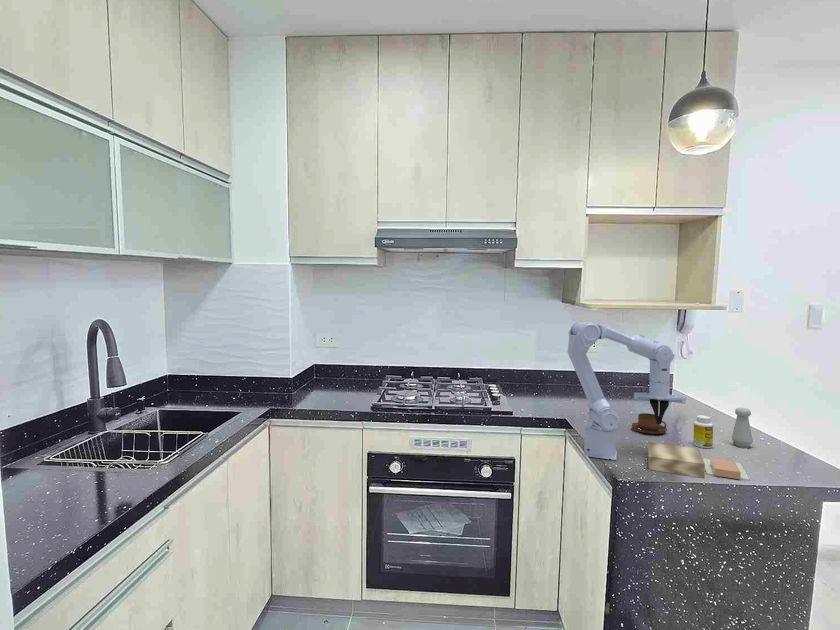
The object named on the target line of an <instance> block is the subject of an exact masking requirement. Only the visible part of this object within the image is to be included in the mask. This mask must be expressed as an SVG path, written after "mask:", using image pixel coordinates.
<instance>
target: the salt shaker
mask: <svg viewBox="0 0 840 630" xmlns="http://www.w3.org/2000/svg"><path fill="white" fill-rule="evenodd" d="M734 413H735V415H736V419H735V423H734V426H733V430H732V435H731V440H732V442H733V444H734V446H735V447H737V448H743V449H749V448H750V446H751V445H752V444H753V441H754V440H753V439H754V438H753V435H752V430H751V425H750V419H749V417H751V415H752V411H751V410H750V409H749V408H746V407H737V408H735V409H734Z"/></svg>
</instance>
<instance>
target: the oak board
mask: <svg viewBox="0 0 840 630" xmlns="http://www.w3.org/2000/svg"><path fill="white" fill-rule="evenodd" d="M703 459H704V458H703V456H702V453H701V451H700V448H698V447H697V448H695V447H689V446H680V445H672V444H666V443H665V444H664V443H657V442H648V441H647V462H648V465H647V466H648V470H649V471H657V472H662V473H669V474H675V475H683V476H690V477H695V478H701V479H702V478H703V479H705V477H706V476H705V474H706V473H705V472H706V470H705V463H704V461H703Z"/></svg>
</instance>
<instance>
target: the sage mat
mask: <svg viewBox="0 0 840 630" xmlns="http://www.w3.org/2000/svg"><path fill="white" fill-rule="evenodd" d="M703 461H704V463H705V472H706V473H705V474H707V475H710V476H715V475H714V472H713V470H712V468H711V465H710V459H709V458H703ZM735 463H736V465H737V467H738V468H739V470H740V472H741V479H740V480H744V481H750V478H749V476H748V475H747V472H746V471H745V469H744V468H743V466H742V464H741V463H739V462H735Z"/></svg>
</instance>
